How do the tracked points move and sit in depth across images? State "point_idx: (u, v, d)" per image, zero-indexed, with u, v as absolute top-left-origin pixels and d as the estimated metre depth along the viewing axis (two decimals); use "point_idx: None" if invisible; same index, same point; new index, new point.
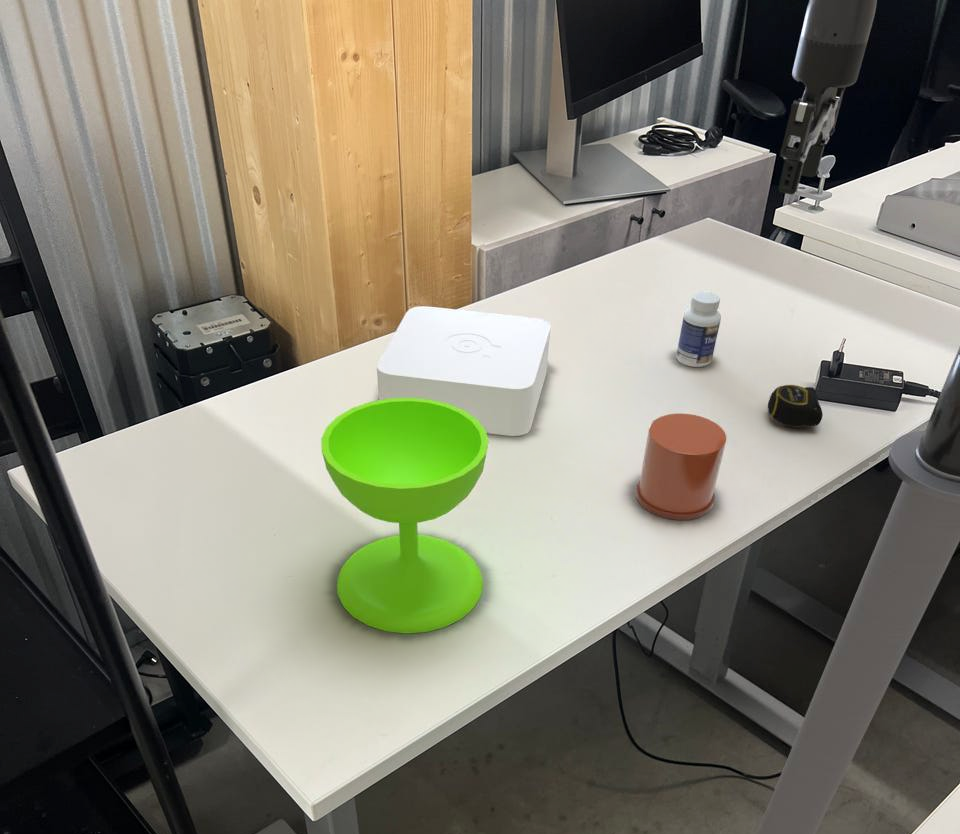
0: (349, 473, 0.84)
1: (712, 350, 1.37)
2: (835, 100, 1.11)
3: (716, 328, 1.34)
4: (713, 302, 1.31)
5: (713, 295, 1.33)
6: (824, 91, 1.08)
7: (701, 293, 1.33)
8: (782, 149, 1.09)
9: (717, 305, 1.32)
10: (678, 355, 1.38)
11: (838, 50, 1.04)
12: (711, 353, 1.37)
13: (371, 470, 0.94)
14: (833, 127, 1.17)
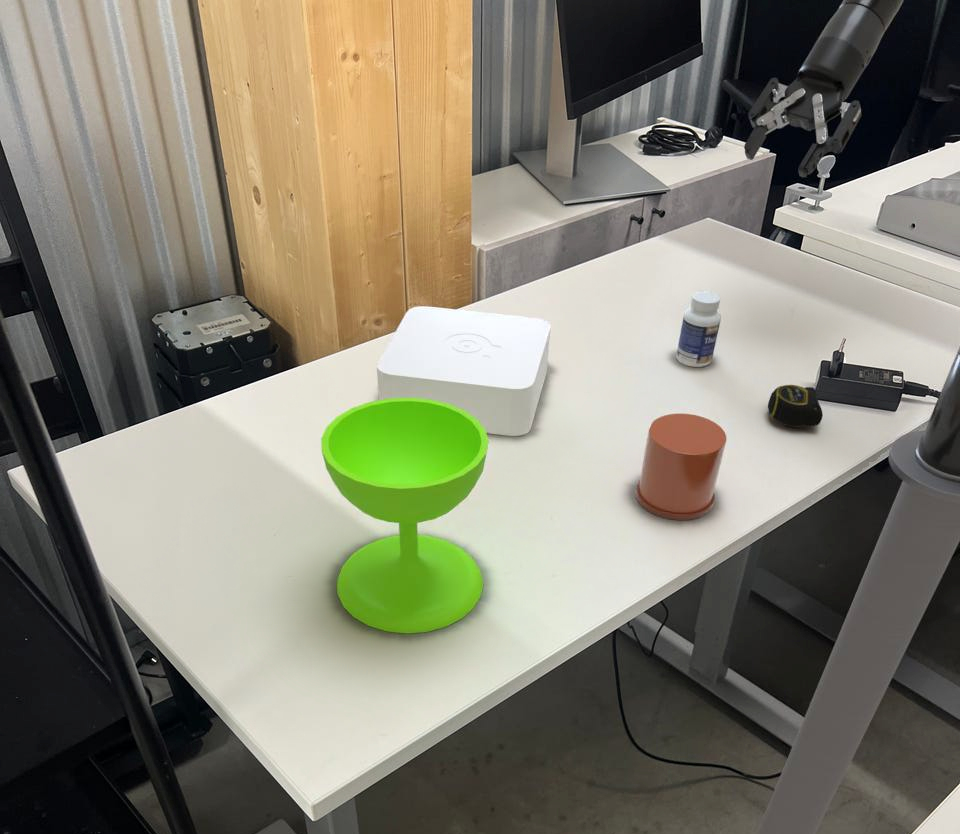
0: (349, 473, 0.84)
1: (712, 350, 1.37)
2: None
3: (716, 328, 1.34)
4: (713, 302, 1.31)
5: (713, 295, 1.33)
6: (799, 80, 1.26)
7: (701, 293, 1.33)
8: None
9: (717, 305, 1.32)
10: (678, 355, 1.38)
11: None
12: (711, 353, 1.37)
13: (371, 470, 0.94)
14: (837, 136, 1.22)
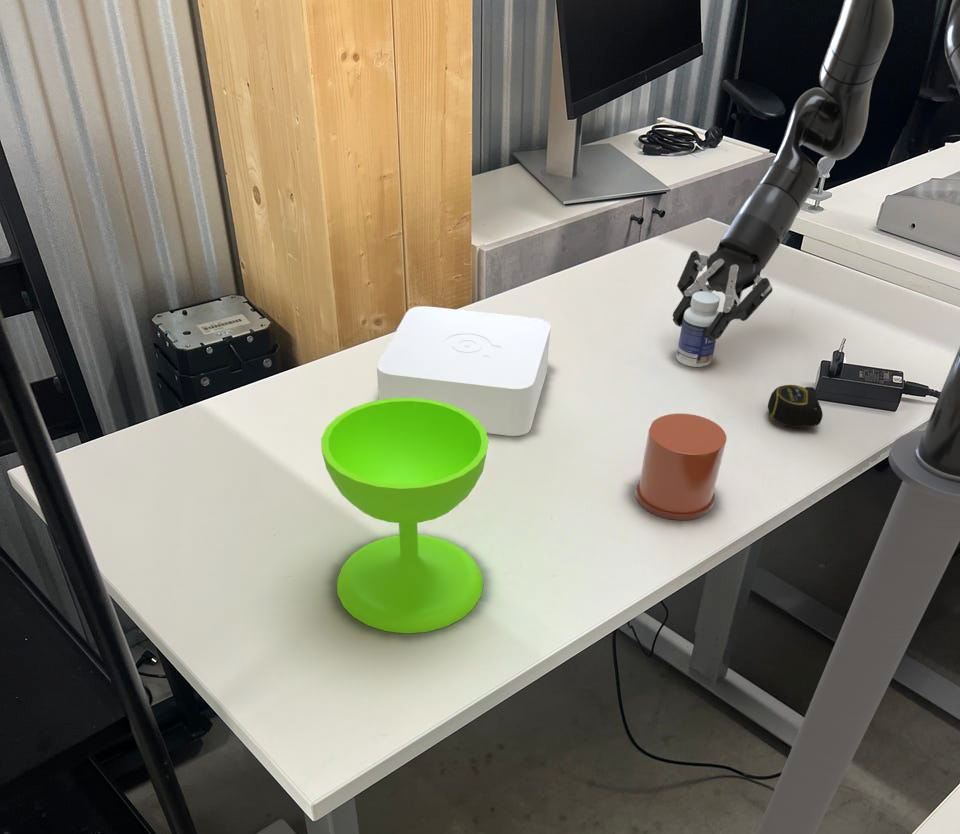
0: (349, 473, 0.84)
1: (712, 350, 1.37)
2: None
3: None
4: (713, 302, 1.31)
5: (713, 295, 1.33)
6: (720, 250, 1.34)
7: (701, 293, 1.33)
8: None
9: (717, 305, 1.32)
10: (678, 355, 1.38)
11: None
12: (711, 353, 1.37)
13: (371, 470, 0.94)
14: (741, 306, 1.30)
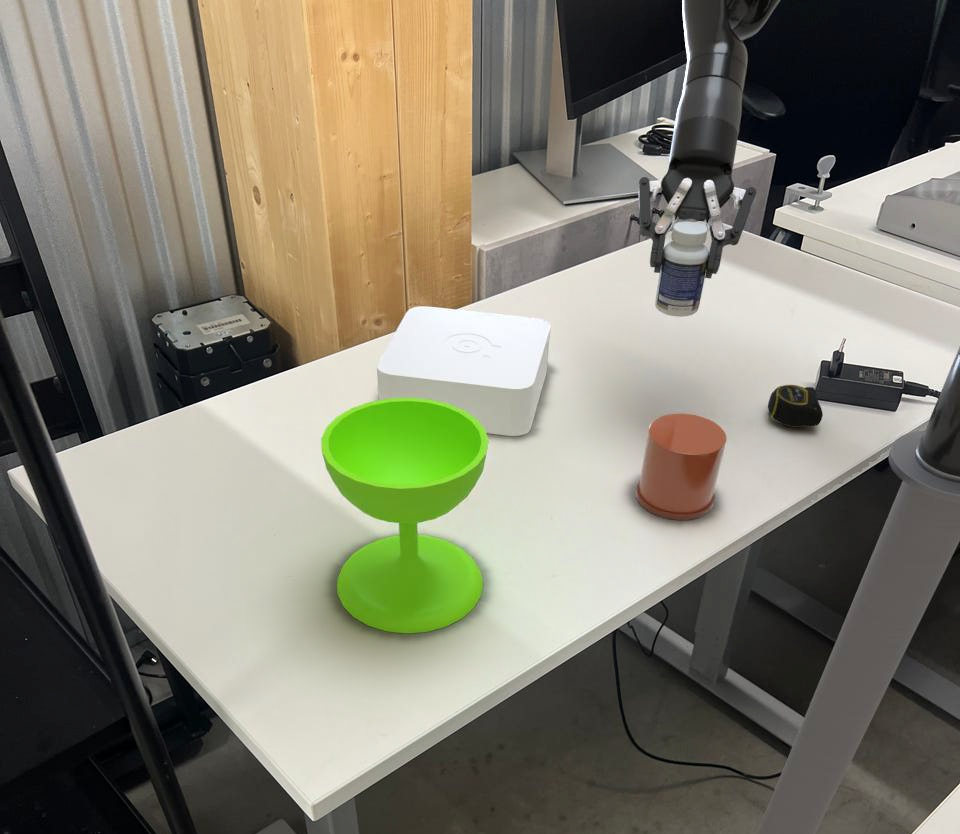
0: (349, 473, 0.84)
1: None
2: None
3: None
4: (705, 231, 1.06)
5: (694, 223, 1.08)
6: (675, 168, 1.08)
7: (680, 225, 1.07)
8: None
9: None
10: (666, 308, 1.11)
11: (677, 129, 1.08)
12: None
13: (371, 470, 0.94)
14: (737, 227, 1.07)
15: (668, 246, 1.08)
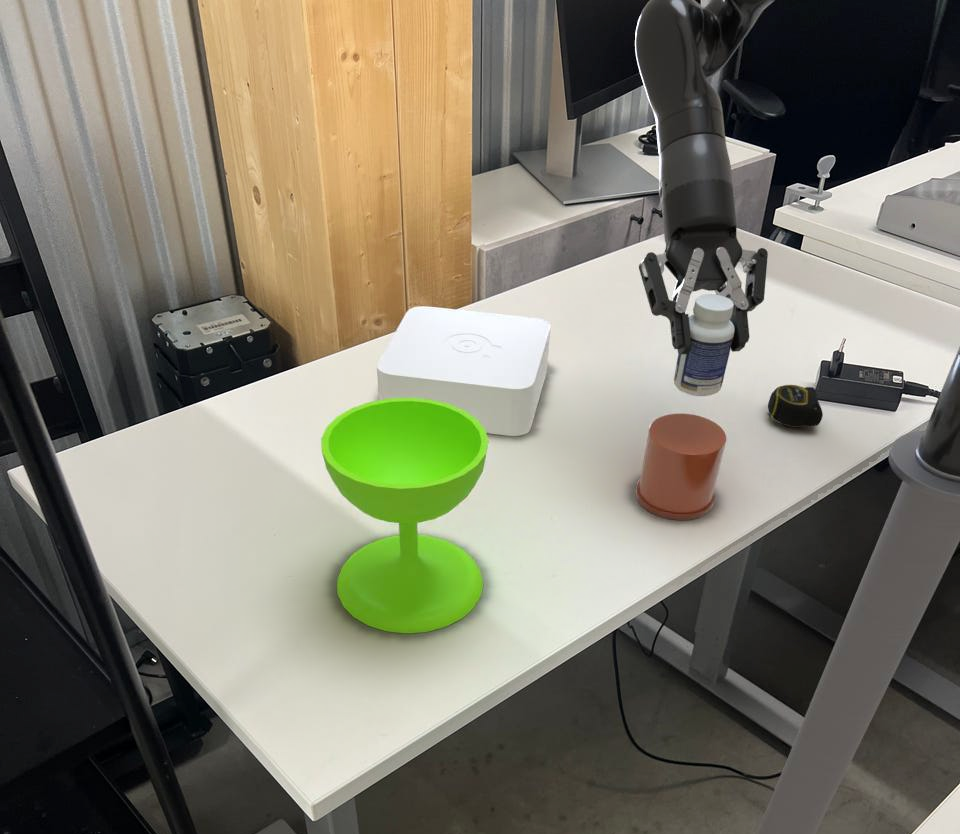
0: (349, 473, 0.84)
1: None
2: None
3: None
4: (732, 303, 0.96)
5: (713, 296, 0.97)
6: (679, 238, 0.97)
7: (702, 300, 0.96)
8: (651, 308, 0.98)
9: None
10: (694, 389, 1.01)
11: (672, 195, 0.96)
12: None
13: (371, 470, 0.94)
14: (758, 294, 0.98)
15: (692, 325, 0.97)
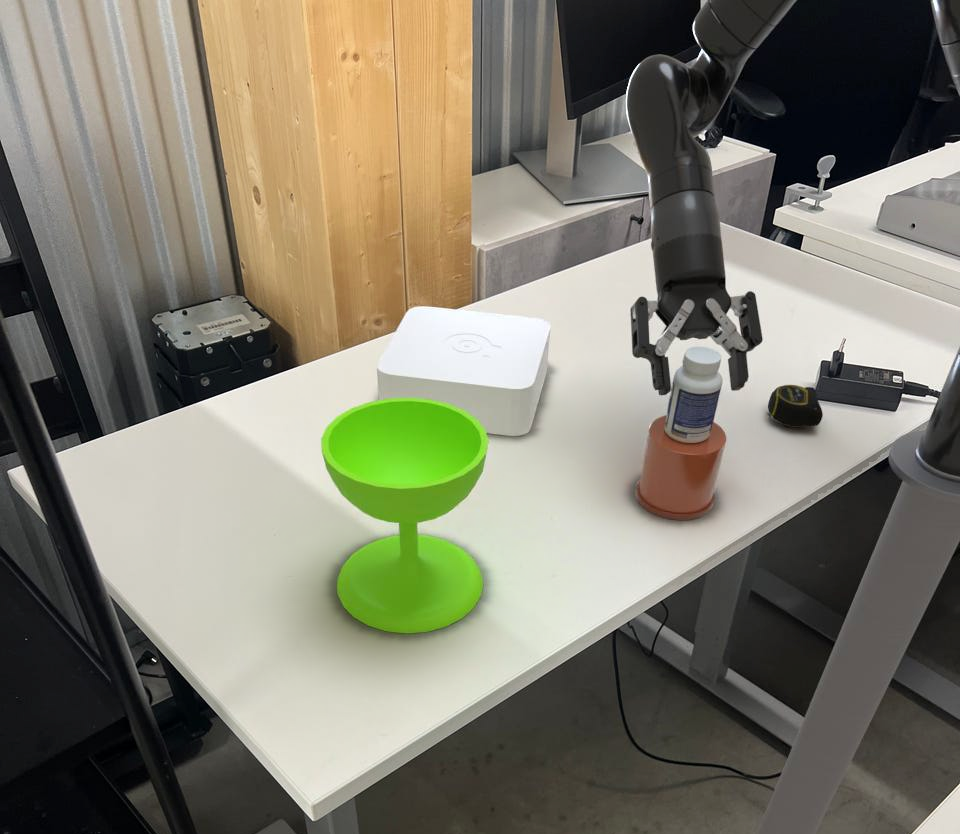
0: (349, 473, 0.84)
1: None
2: (708, 299, 1.00)
3: None
4: (719, 356, 1.00)
5: (702, 349, 1.01)
6: (670, 290, 1.01)
7: (691, 353, 1.01)
8: (632, 349, 1.02)
9: None
10: (684, 436, 1.05)
11: (663, 249, 1.00)
12: None
13: (371, 470, 0.94)
14: (756, 335, 1.02)
15: (682, 376, 1.01)
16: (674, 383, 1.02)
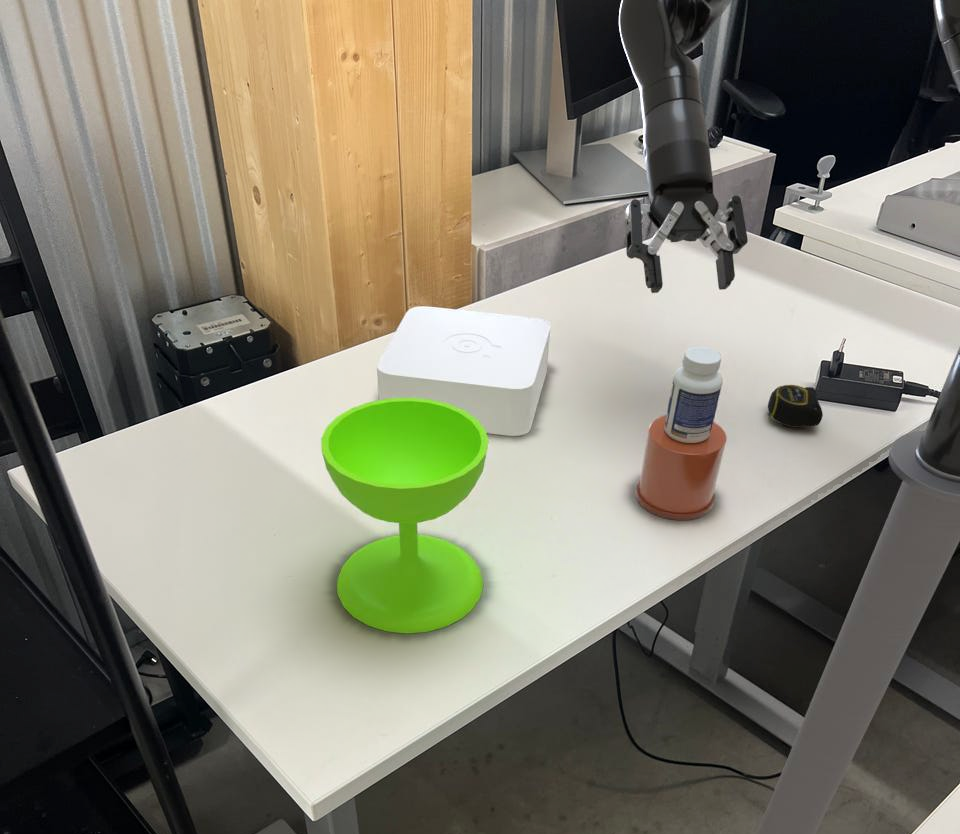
0: (349, 473, 0.84)
1: None
2: (697, 202, 1.08)
3: None
4: (719, 356, 1.00)
5: (702, 349, 1.01)
6: (662, 193, 1.08)
7: (691, 353, 1.01)
8: (626, 250, 1.10)
9: None
10: (684, 436, 1.05)
11: (655, 155, 1.07)
12: None
13: (371, 470, 0.94)
14: (742, 237, 1.09)
15: (682, 376, 1.01)
16: (674, 383, 1.02)
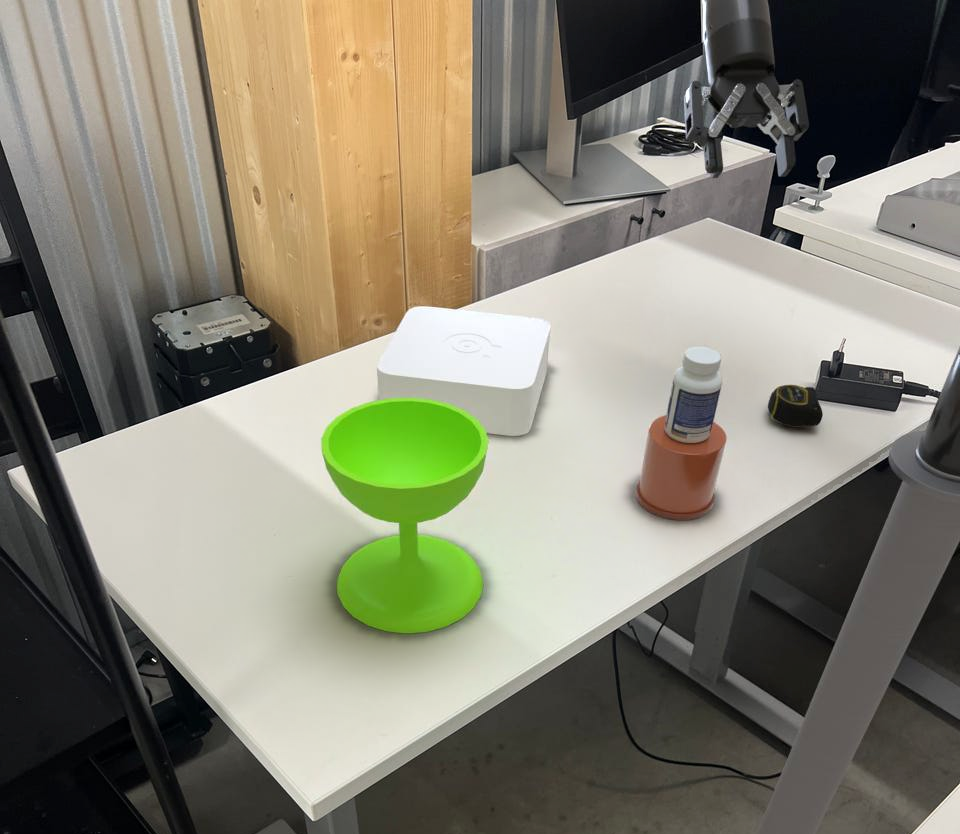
0: (349, 473, 0.84)
1: None
2: (758, 84, 1.06)
3: None
4: (719, 356, 1.00)
5: (702, 349, 1.01)
6: (723, 75, 1.06)
7: (691, 353, 1.01)
8: (686, 135, 1.08)
9: None
10: (684, 436, 1.05)
11: (716, 35, 1.06)
12: None
13: (371, 470, 0.94)
14: (803, 121, 1.08)
15: (682, 376, 1.01)
16: (674, 383, 1.02)
